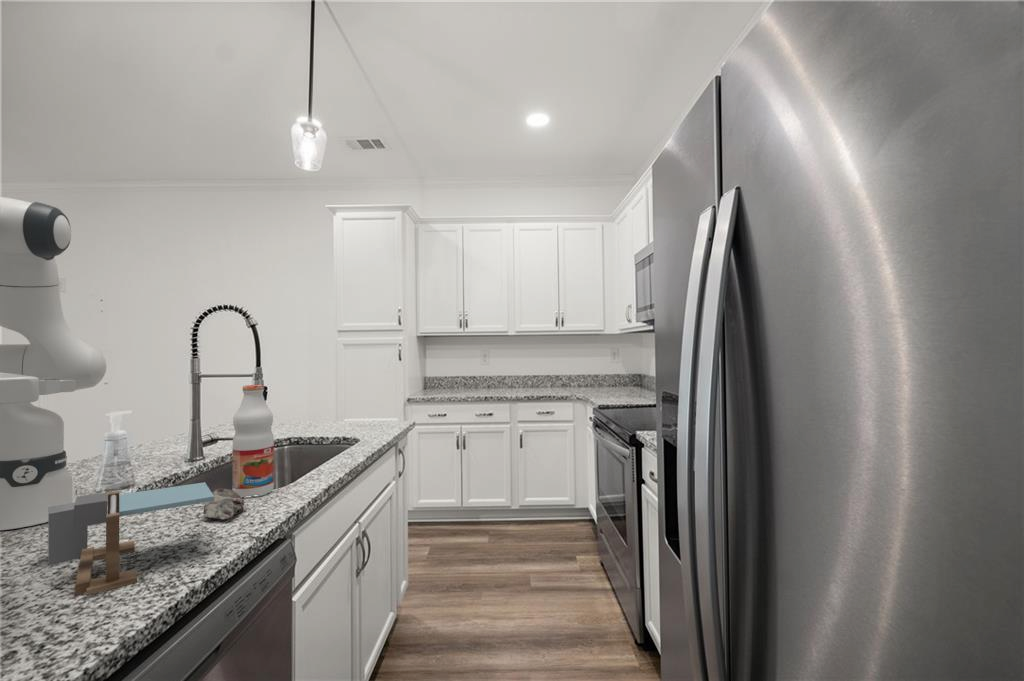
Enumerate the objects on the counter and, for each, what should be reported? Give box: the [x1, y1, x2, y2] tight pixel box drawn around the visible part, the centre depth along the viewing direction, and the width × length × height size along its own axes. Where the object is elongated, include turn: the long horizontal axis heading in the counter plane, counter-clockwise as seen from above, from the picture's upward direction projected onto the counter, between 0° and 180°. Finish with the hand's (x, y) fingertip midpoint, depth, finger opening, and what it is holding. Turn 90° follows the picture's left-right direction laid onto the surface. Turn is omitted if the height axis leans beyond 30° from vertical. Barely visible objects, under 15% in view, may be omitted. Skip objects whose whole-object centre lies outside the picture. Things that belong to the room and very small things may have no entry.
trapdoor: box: [73, 481, 214, 528], centre depth 83 cm, size 13×19×4 cm
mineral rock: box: [203, 487, 245, 520], centre depth 106 cm, size 15×8×4 cm, turn 17°
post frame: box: [74, 490, 138, 596], centre depth 79 cm, size 19×7×11 cm, turn 40°
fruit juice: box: [231, 384, 275, 499], centre depth 121 cm, size 9×9×28 cm
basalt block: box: [47, 502, 89, 566], centre depth 84 cm, size 5×5×9 cm
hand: (67, 384), depth 74 cm, fingers open, 8 cm apart
